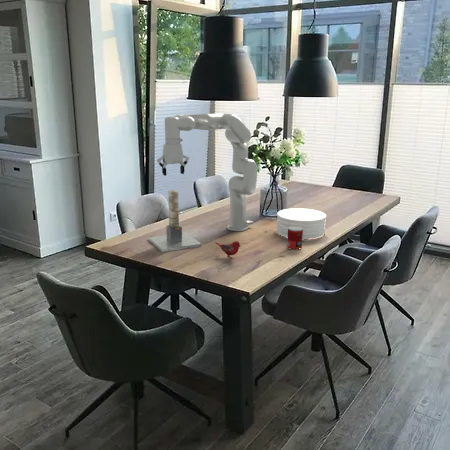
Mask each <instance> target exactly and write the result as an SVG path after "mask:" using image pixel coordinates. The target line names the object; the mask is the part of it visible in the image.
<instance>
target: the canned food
mask: <svg viewBox="0 0 450 450" xmlns="http://www.w3.org/2000/svg"><path fill="white" fill-rule="evenodd" d="M302 238H303V228H302V227H299V226H290V227H288V238H286V240H287V242H286V243H287V244H286V246H287V249H289V248H291V249H299V248H301V249H302V247H303V240H302ZM291 249H290V250H291Z"/></svg>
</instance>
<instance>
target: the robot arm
mask: <svg viewBox="0 0 450 450" xmlns="http://www.w3.org/2000/svg"><path fill="white" fill-rule="evenodd" d="M192 130H199V131H213V130H218V131H219V130H225V131H224V135H225V138H226V139H227V141H229V142H230V145H231V147H232V150H233V151H232V165H231V166H232V167H231V168H232V172H234V173H235V174H238V175H233V176H231V177H230V179H229V180H228V182H227V183H228V191H229V224H228V225H227V226H226V229H227V230H228V231H232V232H245V231H247V230H248V229H249V225H253V224H254V221H252V220H247V219H246V218H247V217H246V216H247V215H246V213H247V197H246V196H251V195H253V194H254V193H255V191H256V187H257V181H258V180H257V178H258V165H257V162H256V161H255V160H254V159H251V158H249V146H248V144H247V143H249V142H250V141H251V139H252V133H251V131H250V129H249V128H248V127H247V126H246V124H245V123H244V121H242V120H241V118H239V116H237V115H236V114H233V113H222V112H221V113H199V114H197V113H196V114H176V115H174V116H166V117H165V118H164V142H165V143H164V144H163V146H162V156H160V157H158V158H157V159H156V162H157V164H158V165H159V167H161V172H162V175H163V176H164V177H165V176H167V168H166V167H167V166H168V165H174V164H180V166H179V167H180V168H179V170H180V175H181V174H182V175H184V174H185V167H186V165H187V164H188V161H189V160H190V157H189V156H186V155H184V152H183V146H182V143H181V142H183V138H181V131H184V132H189V131H192ZM161 161H162V162H161Z"/></svg>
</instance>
